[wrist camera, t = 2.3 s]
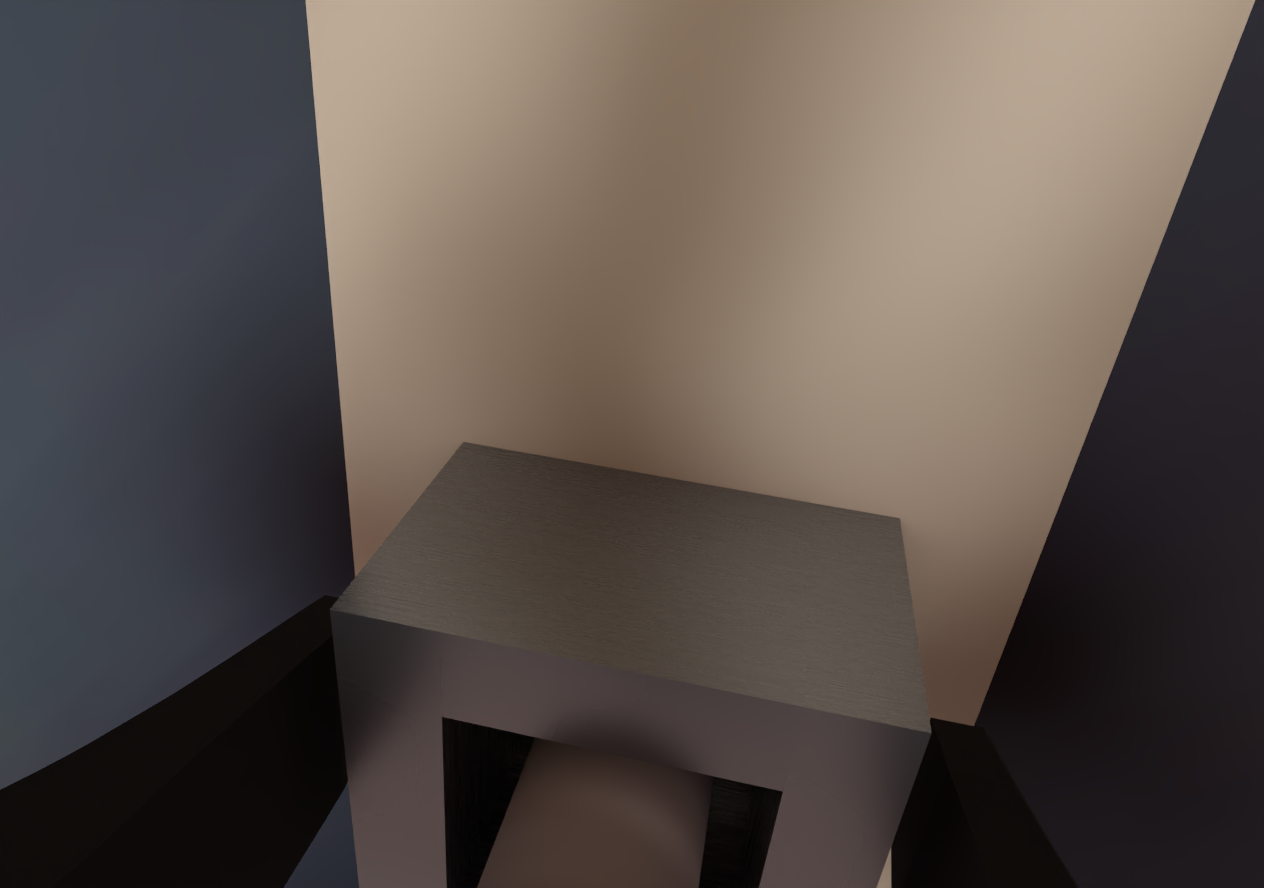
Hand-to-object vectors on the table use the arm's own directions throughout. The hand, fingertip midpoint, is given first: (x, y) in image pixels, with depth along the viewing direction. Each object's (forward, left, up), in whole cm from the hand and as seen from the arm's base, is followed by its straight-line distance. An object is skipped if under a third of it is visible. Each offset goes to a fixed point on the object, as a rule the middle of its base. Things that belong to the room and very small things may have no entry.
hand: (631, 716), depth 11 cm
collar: (0, 0, -1) cm, 1 cm away
